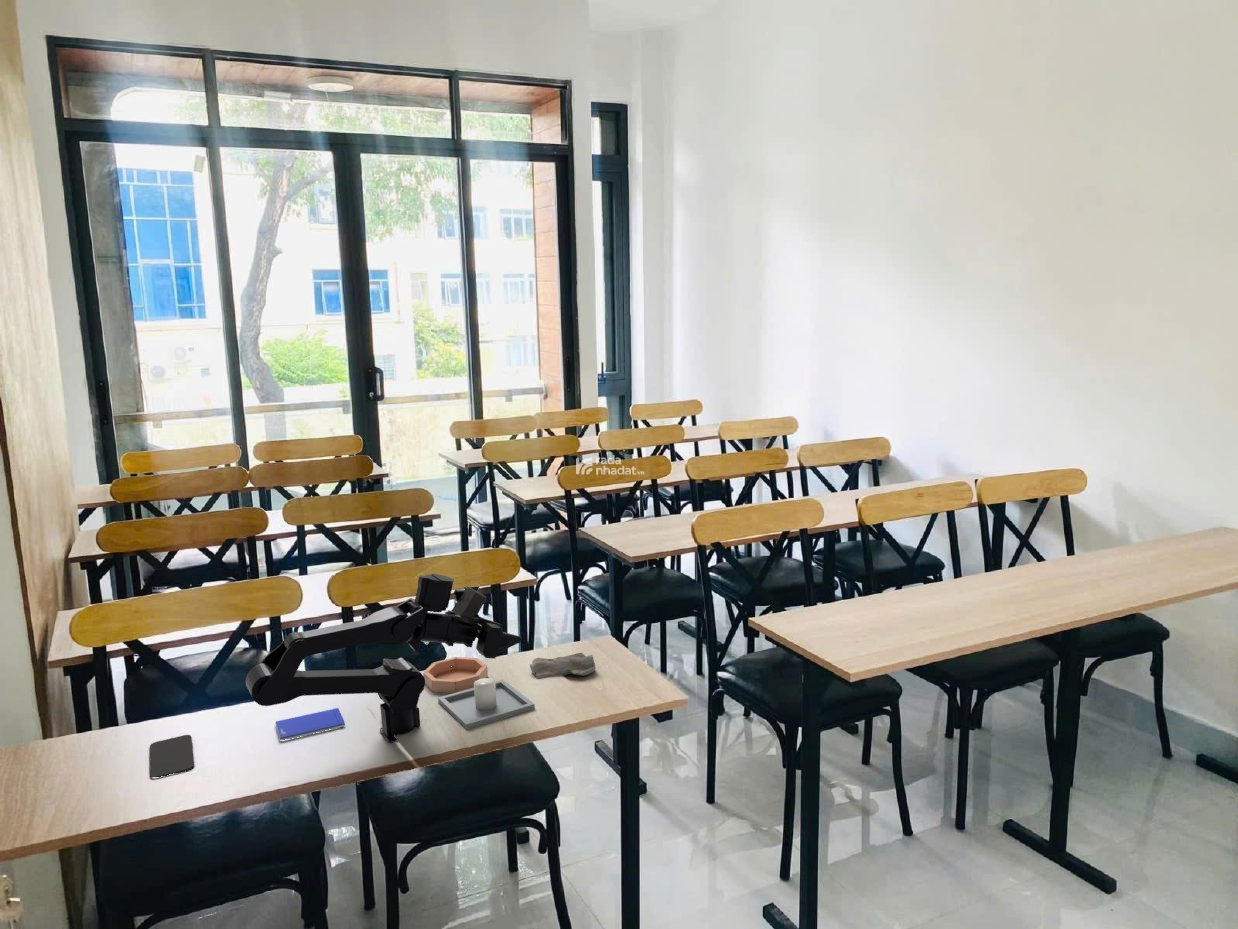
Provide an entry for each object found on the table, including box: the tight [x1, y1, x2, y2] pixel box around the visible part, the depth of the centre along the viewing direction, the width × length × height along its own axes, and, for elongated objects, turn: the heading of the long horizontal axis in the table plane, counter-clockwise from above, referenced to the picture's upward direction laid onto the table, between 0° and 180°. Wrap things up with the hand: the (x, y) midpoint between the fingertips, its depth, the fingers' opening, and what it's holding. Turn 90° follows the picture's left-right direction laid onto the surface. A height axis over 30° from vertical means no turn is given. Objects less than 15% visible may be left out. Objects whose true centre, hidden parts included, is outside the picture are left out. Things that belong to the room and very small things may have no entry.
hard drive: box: [275, 707, 346, 741], centre depth 177 cm, size 2×8×12 cm
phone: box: [149, 734, 195, 777], centre depth 166 cm, size 7×1×15 cm
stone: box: [529, 652, 597, 679], centre depth 198 cm, size 15×10×4 cm, turn 100°
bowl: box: [422, 656, 489, 694], centre depth 194 cm, size 13×13×4 cm
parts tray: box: [437, 679, 536, 730], centre depth 181 cm, size 15×15×2 cm
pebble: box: [474, 677, 497, 710], centre depth 181 cm, size 4×4×5 cm
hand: (511, 633), depth 183 cm, fingers open, 9 cm apart
